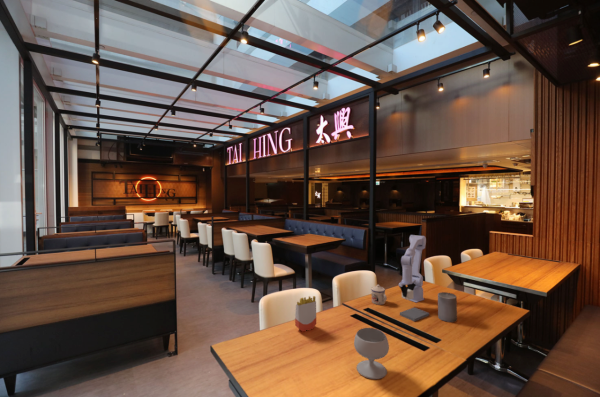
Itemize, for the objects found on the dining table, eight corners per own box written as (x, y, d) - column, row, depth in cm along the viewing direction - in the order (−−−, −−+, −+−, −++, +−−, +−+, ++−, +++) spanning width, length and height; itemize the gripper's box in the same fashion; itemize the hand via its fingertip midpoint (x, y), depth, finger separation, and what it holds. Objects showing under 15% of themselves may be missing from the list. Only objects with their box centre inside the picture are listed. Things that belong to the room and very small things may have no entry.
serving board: (414, 309, 172) (414, 307, 172) (429, 315, 163) (429, 313, 163) (399, 315, 165) (399, 312, 165) (414, 321, 156) (414, 319, 156)
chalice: (382, 359, 122) (382, 325, 121) (394, 381, 108) (394, 343, 107) (351, 360, 121) (350, 326, 121) (358, 382, 107) (358, 344, 107)
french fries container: (295, 329, 149) (294, 296, 149) (312, 324, 154) (311, 293, 154) (298, 333, 145) (298, 299, 145) (316, 328, 150) (316, 295, 150)
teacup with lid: (368, 301, 186) (368, 284, 186) (378, 298, 190) (378, 282, 190) (380, 307, 176) (380, 289, 175) (391, 305, 179) (391, 287, 179)
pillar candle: (452, 315, 164) (451, 290, 163) (460, 322, 154) (459, 296, 154) (435, 314, 165) (434, 289, 164) (442, 322, 155) (441, 296, 155)
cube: (406, 295, 180) (406, 288, 179) (413, 298, 175) (413, 290, 175) (401, 297, 177) (401, 289, 177) (408, 300, 173) (408, 292, 173)
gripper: (409, 271, 183) (409, 291, 183) (394, 275, 175) (394, 296, 176) (418, 273, 177) (418, 294, 177) (404, 277, 169) (404, 299, 170)
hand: (407, 295), depth 176 cm, fingers closed on cube, 5 cm apart
